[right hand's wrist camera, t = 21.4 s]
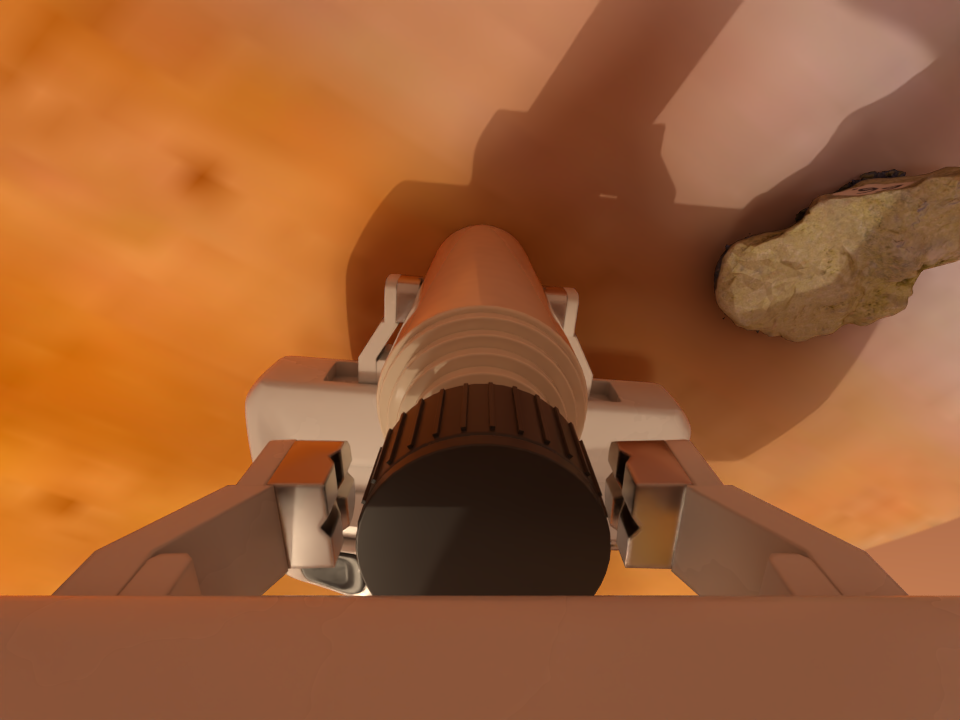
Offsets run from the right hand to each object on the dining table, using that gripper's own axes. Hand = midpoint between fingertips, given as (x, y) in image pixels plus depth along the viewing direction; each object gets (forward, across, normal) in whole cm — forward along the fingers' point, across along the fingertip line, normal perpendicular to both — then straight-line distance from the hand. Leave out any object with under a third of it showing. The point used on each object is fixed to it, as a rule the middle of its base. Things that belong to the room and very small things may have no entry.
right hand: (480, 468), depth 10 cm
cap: (-2, 0, 0) cm, 2 cm away
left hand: (+13, 0, -1) cm, 13 cm away
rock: (+19, -18, -2) cm, 26 cm away
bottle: (+19, 0, 0) cm, 19 cm away
